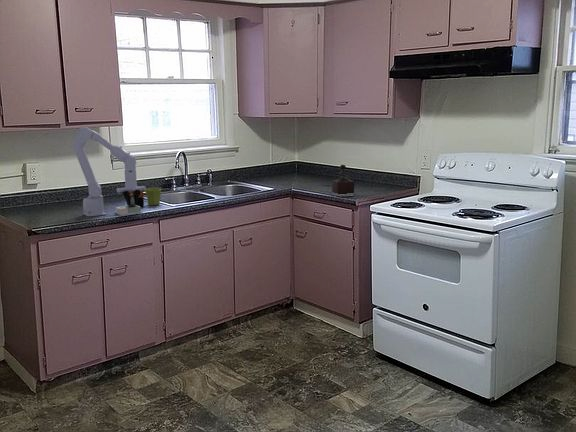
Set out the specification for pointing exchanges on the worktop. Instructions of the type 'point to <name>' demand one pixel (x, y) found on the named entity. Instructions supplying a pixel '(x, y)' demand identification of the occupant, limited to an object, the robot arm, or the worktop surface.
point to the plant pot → (153, 195)
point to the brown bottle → (342, 183)
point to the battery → (139, 199)
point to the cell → (132, 200)
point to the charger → (128, 210)
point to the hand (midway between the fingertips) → (132, 205)
